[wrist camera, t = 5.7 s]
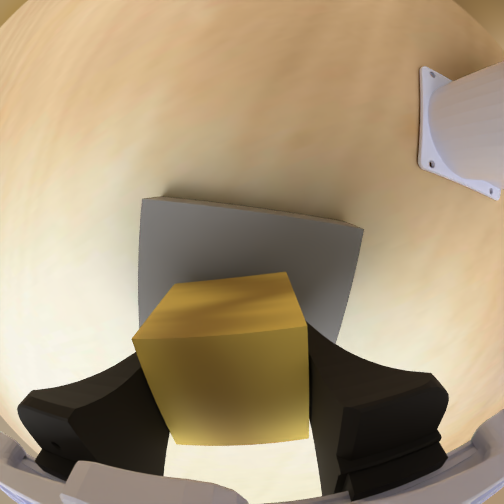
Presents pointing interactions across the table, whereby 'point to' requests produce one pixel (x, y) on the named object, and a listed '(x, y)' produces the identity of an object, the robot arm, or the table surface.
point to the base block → (247, 253)
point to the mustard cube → (229, 361)
